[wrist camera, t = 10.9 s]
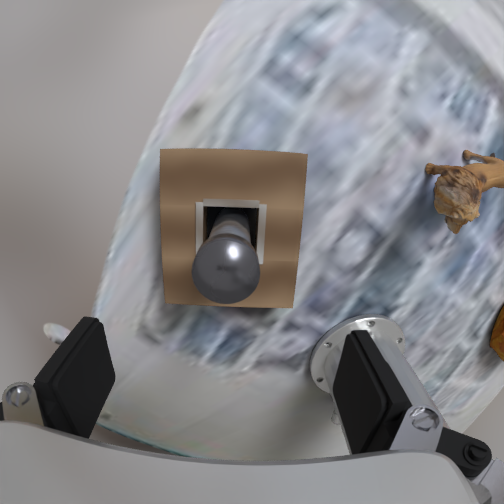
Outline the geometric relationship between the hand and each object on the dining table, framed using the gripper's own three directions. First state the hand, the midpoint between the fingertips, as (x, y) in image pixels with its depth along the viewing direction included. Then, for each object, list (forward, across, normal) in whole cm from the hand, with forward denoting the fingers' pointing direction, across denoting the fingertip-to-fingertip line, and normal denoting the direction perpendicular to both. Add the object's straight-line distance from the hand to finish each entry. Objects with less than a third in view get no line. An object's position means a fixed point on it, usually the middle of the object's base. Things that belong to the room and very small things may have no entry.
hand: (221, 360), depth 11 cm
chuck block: (+19, 0, 0) cm, 19 cm away
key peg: (+20, 0, 0) cm, 20 cm away
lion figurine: (+20, -24, -7) cm, 32 cm away
